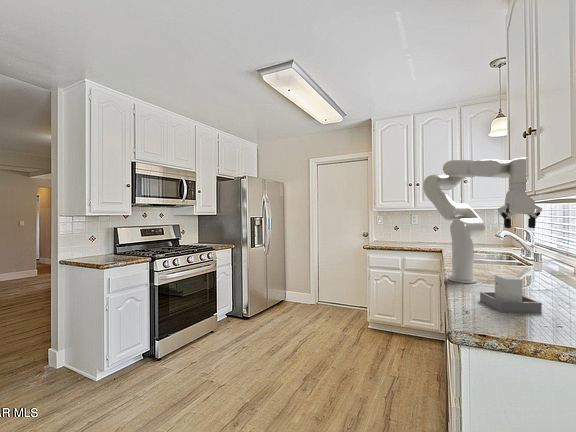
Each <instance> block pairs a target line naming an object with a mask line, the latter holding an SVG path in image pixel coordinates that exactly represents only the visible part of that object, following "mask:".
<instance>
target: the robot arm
mask: <svg viewBox="0 0 576 432" xmlns="http://www.w3.org/2000/svg"><path fill="white" fill-rule="evenodd" d="M526 158H527V157H520V158H519V157H518V158H513V159H511V160H499V159H451V160H449V161H446V162H445V163H444V164H443V165H442V172H443V173H444V174H431V175H428V176H426V177H425V179H424V181H423V185H422V188H423V193H424V194H425V196H426V198H427V199H428V200H429V201H430V202H431V204H433V206H434V207H435V209H436V210H437V211H438V213H439V214H440V215H441V216H442V218H443V219H444V220H445V221H448V222H451V224H450V227H449V230H450V237H451V275H450V276H448V280H449V281H451V282H455V283H460V284H475V283H477V282H478V279H477V278H475V277H474V267H475V266H474V263H475V262H474V258H475V257H474V249H475V248H474V247H475V246H474V243H473V242H474V241H473V239H472V238H474V237H479V236H482V235H483V234H484V233H485V231H486V225H485V222H484V221H483V219H482V218H481V217H480V216H479V215H478V213H476V212H475V210H474V209H473V208H472V207H471V206H470V205H468V204H466V203H462V202H460V203H459V202H455V201H453V200H452V198H451V197H450V196H449V195H448V194H446V193H445V192H444V191H450V190H453V189H454V188H456V187H457V186H458V185H459V184H460V183H461V182H463V180H465V179H466V178H475V177H484V178H500V179H501V178H502V179H503V178H505V179H507V178H509V180H508V182H509V183H508V184H509V190H507V192H506V194H505V199H504V205H502V206H500V207H499V208H498V209H497V211H498V212H499V215H500V216H501V217H502V219H503V223H504V224H503V226H504V228H505V229H511V228H512V218H511V217H512V216H513V215H526V216H528V217H529V218H528V221H527V223H528V225H527V227H528V229H529V228H530V229H536V223H537V222H536V221H537V218H538V217H539V216H540V215H541V213H542V211H543V208H542V207H540V206H538V205H536V202H535V200H533V199H532V198H530V197H528V196H527V194H526V192H525V191H526V182H527V180H526Z"/></svg>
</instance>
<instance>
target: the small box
mask: <svg viewBox="0 0 576 432" xmlns="http://www.w3.org/2000/svg"><path fill="white" fill-rule="evenodd" d="M494 292H495V299H497V300H500V301H502V302H522V295H523V279H521V278H518V277H516V276H513V275H510V274H507V275H506V274H494Z"/></svg>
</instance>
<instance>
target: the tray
mask: <svg viewBox="0 0 576 432" xmlns="http://www.w3.org/2000/svg"><path fill="white" fill-rule="evenodd" d="M479 294H480V295H479V301H480V302H482V303H483V304H485V305H487V306H489V307H491V308H492V309H494V310H496V311H498V312H500V313H527V314H529V313H531V314H542V309H543V307H542V305H543V303H542V302H540V301H538V300H535V299H533V298H531V297H528V296H526V295H524V294H522V302H502V301H500V300H497V299H495V291H494V292H493V291H480V292H479Z"/></svg>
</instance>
